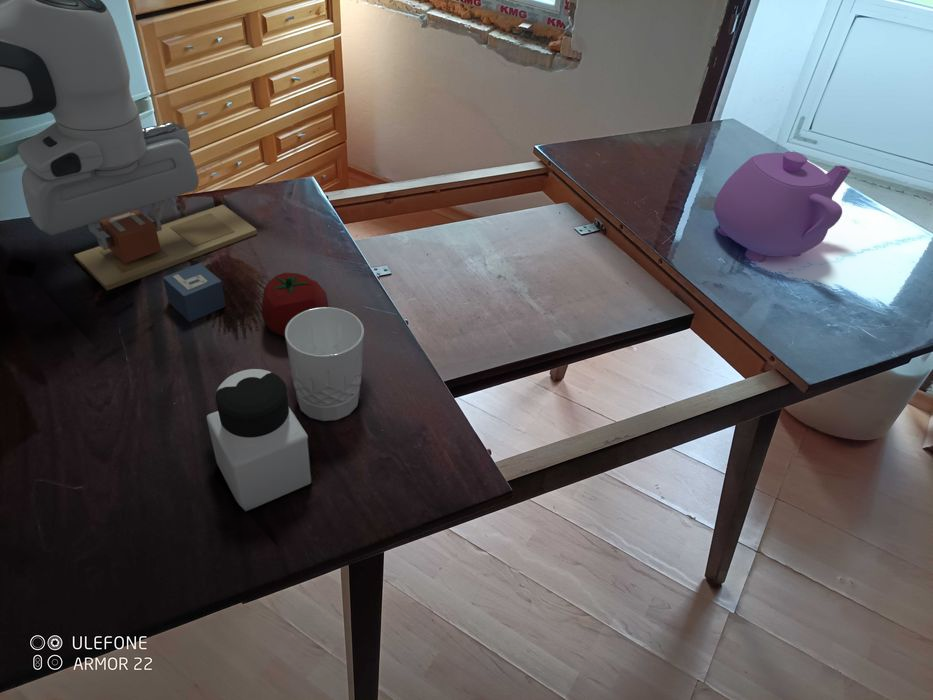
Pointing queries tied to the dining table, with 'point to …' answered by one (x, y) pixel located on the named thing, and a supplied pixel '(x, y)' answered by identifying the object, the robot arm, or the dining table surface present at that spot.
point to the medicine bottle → (258, 439)
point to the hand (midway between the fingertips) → (130, 238)
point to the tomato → (290, 299)
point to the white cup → (326, 361)
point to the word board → (169, 246)
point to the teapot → (779, 205)
